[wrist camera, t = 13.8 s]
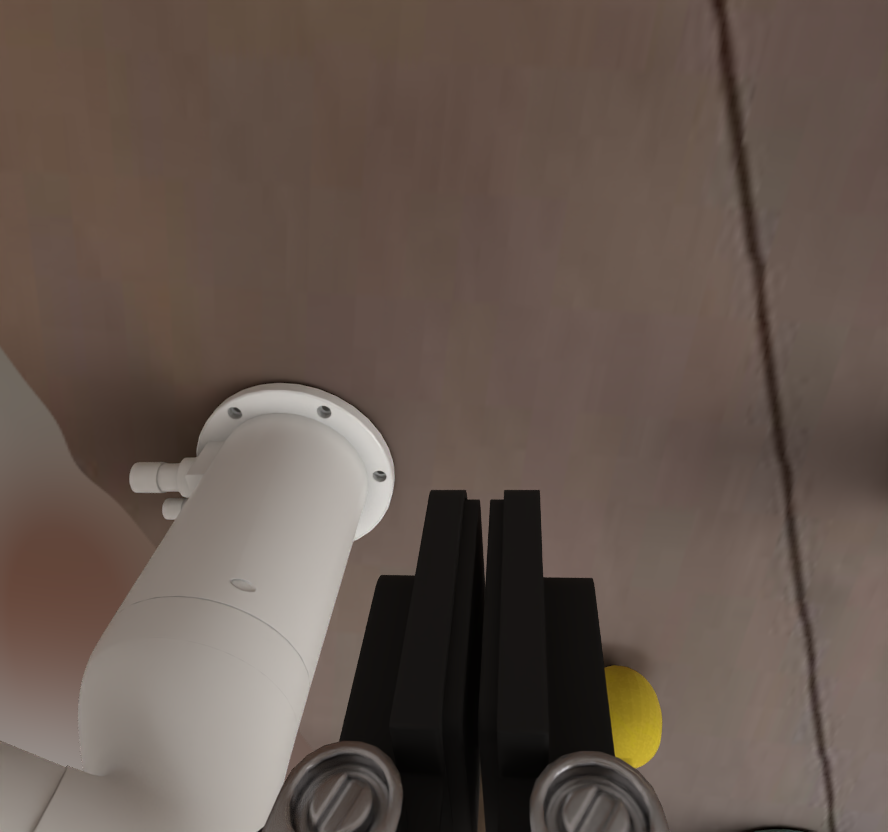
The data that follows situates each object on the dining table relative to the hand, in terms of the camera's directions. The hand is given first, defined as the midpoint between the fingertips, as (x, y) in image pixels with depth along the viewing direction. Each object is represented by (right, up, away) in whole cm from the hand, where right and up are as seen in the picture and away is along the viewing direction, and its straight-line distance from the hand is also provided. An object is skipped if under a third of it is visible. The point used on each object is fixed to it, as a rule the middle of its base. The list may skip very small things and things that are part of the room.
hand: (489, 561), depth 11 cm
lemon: (+12, -17, +42) cm, 47 cm away
